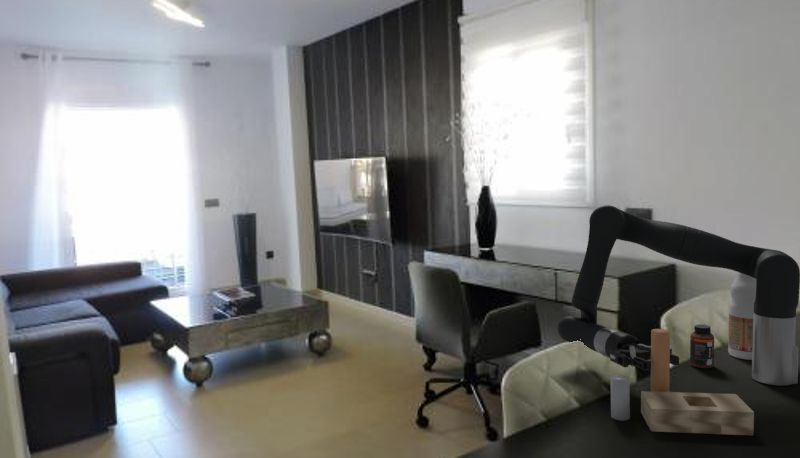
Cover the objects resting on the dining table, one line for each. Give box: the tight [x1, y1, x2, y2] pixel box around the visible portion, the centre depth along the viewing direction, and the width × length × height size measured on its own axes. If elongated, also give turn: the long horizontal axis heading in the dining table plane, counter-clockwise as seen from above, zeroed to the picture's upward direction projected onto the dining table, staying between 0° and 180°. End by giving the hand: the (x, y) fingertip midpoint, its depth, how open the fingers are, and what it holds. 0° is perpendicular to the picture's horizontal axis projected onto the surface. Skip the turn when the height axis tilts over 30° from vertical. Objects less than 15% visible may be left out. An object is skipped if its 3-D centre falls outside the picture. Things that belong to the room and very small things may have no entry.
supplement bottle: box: [689, 323, 715, 369], centre depth 166 cm, size 6×6×11 cm
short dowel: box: [610, 374, 631, 422], centre depth 135 cm, size 4×4×9 cm
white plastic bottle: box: [727, 272, 756, 361], centre depth 172 cm, size 9×9×28 cm
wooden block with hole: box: [640, 390, 755, 436], centre depth 131 cm, size 20×10×5 cm, turn 80°
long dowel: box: [650, 328, 671, 392], centre depth 140 cm, size 4×4×18 cm
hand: (663, 363), depth 139 cm, fingers open, 8 cm apart
